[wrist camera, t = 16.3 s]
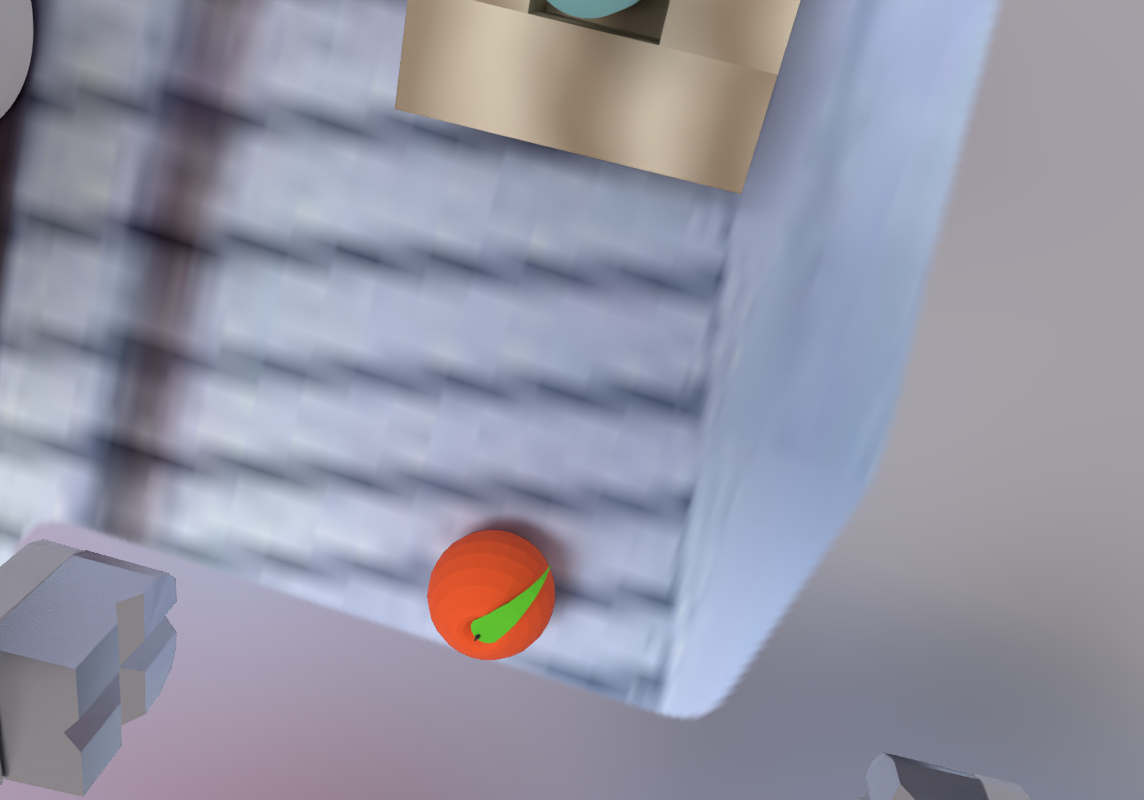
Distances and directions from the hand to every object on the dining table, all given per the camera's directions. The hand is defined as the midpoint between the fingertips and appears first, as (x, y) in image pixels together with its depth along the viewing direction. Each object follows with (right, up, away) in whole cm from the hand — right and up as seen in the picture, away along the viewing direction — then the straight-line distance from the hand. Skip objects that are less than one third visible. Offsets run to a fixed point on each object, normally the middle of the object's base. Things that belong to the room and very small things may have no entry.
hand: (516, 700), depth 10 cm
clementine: (-3, -5, +40) cm, 41 cm away
